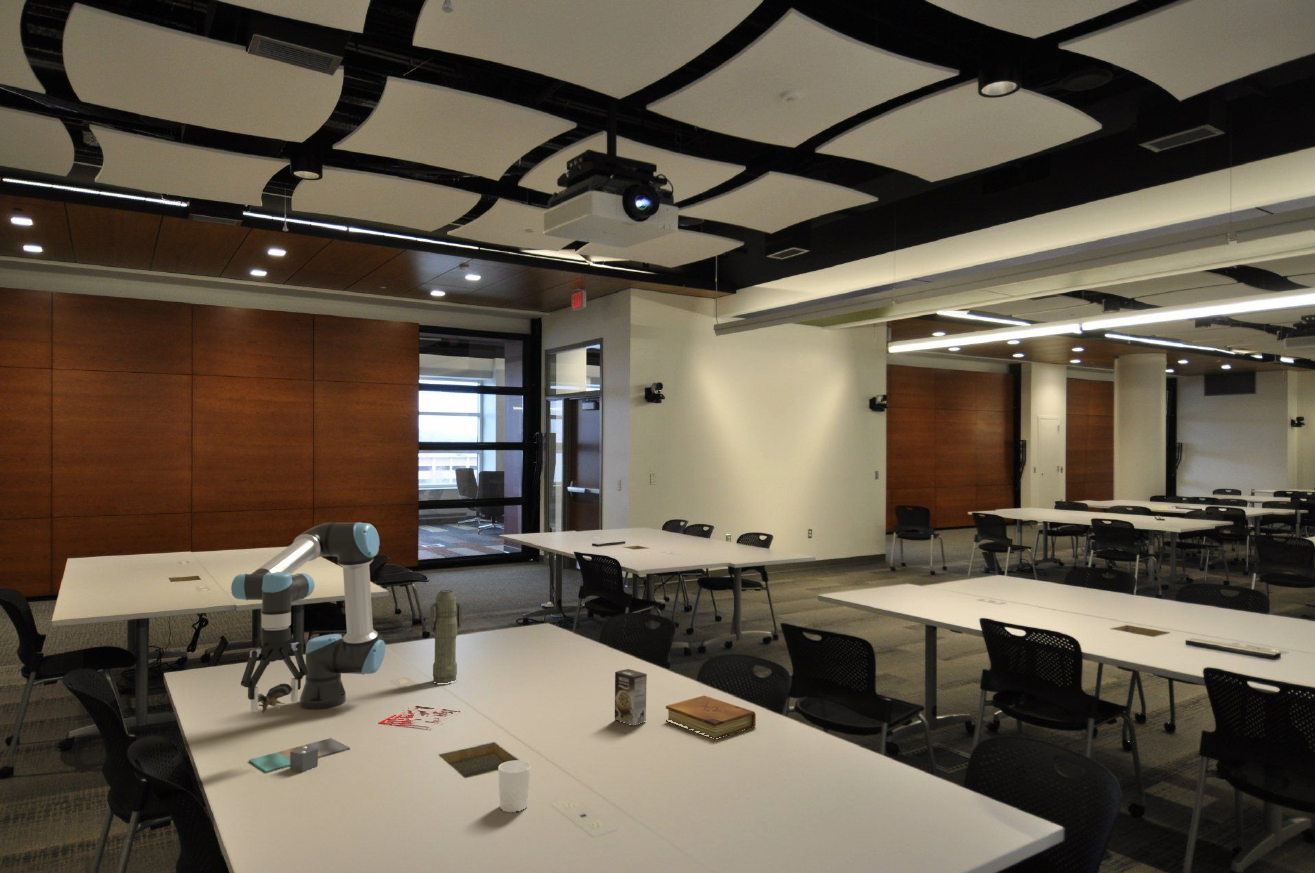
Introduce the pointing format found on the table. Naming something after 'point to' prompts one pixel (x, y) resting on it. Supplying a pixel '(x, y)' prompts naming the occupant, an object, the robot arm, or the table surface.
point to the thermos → (445, 636)
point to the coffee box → (630, 696)
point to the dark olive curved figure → (274, 696)
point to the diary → (711, 716)
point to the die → (303, 759)
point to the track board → (283, 757)
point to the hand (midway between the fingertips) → (274, 705)
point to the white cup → (514, 785)
